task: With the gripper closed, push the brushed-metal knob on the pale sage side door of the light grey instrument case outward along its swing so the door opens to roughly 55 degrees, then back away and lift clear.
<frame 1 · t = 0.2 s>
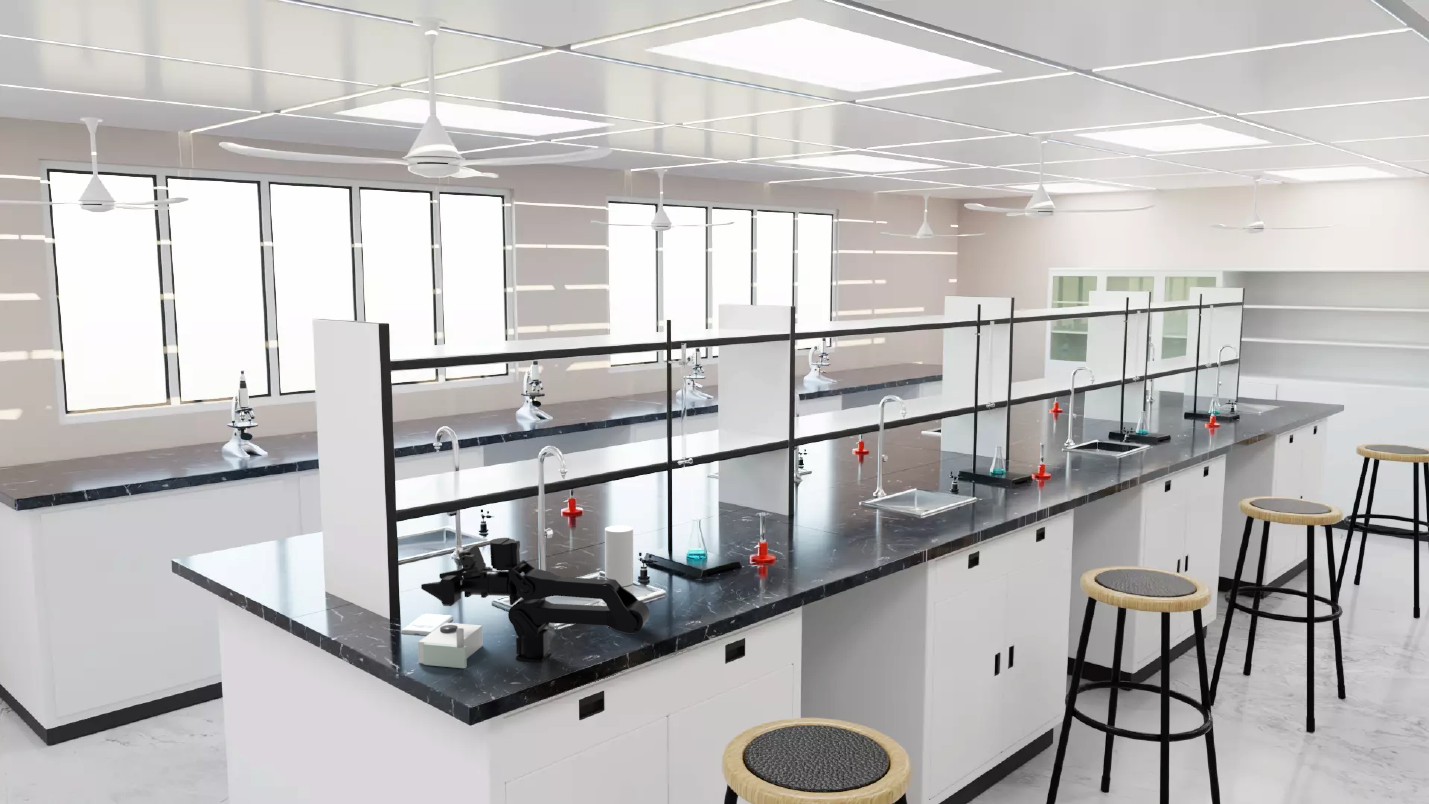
hand: (430, 581, 237), 16 cm above the worktop, tool horizontal, fingers open, 9 cm apart
side door: (444, 646, 227), point 5 cm above the worktop, hinge at 0.0°
instrument case: (451, 654, 236), on the worktop
external hard drive: (427, 628, 255), on the worktop
cylindrical container: (619, 625, 257), on the worktop
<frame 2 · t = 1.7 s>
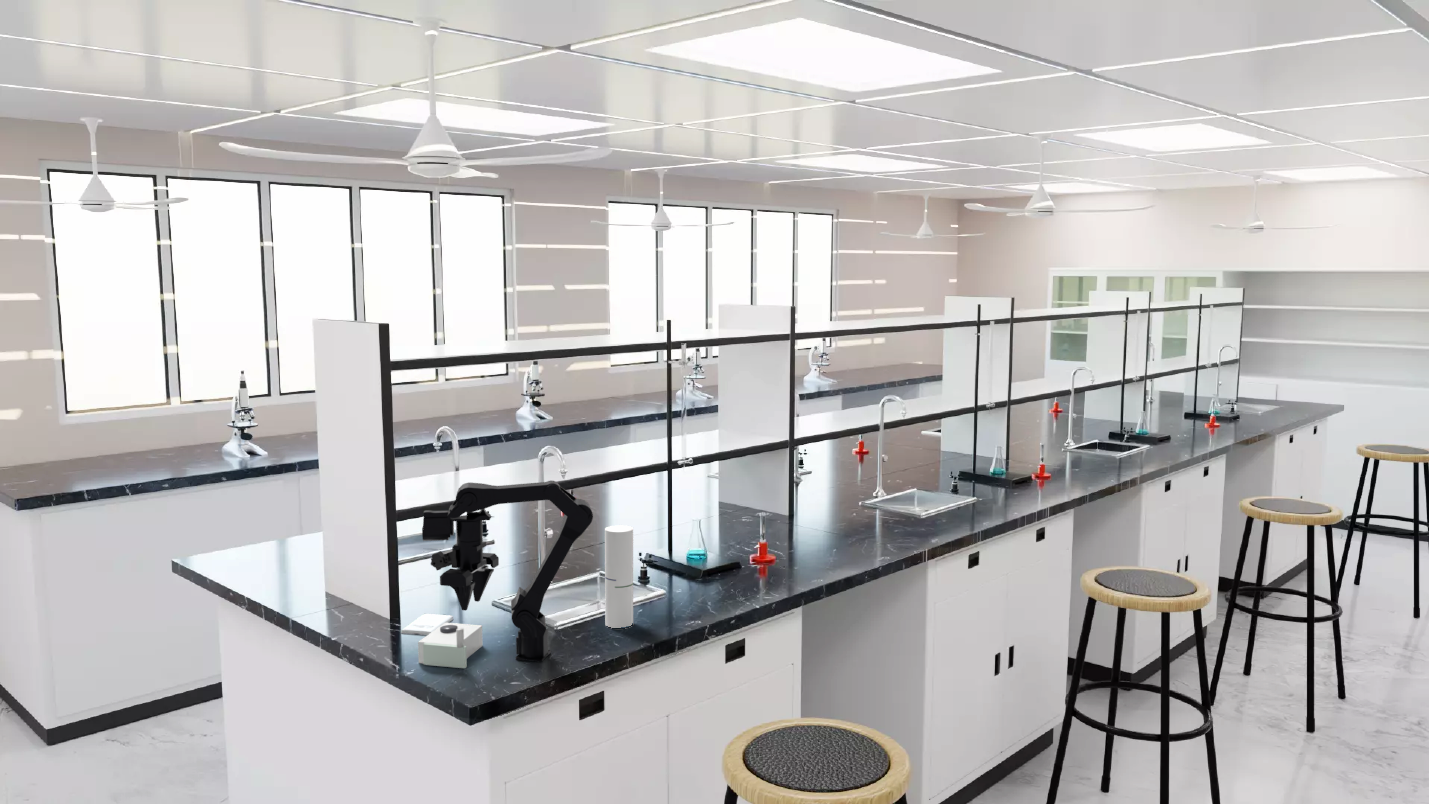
hand: (470, 605, 230), 13 cm above the worktop, tool pointing down, fingers open, 6 cm apart
nothing on the worktop moved.
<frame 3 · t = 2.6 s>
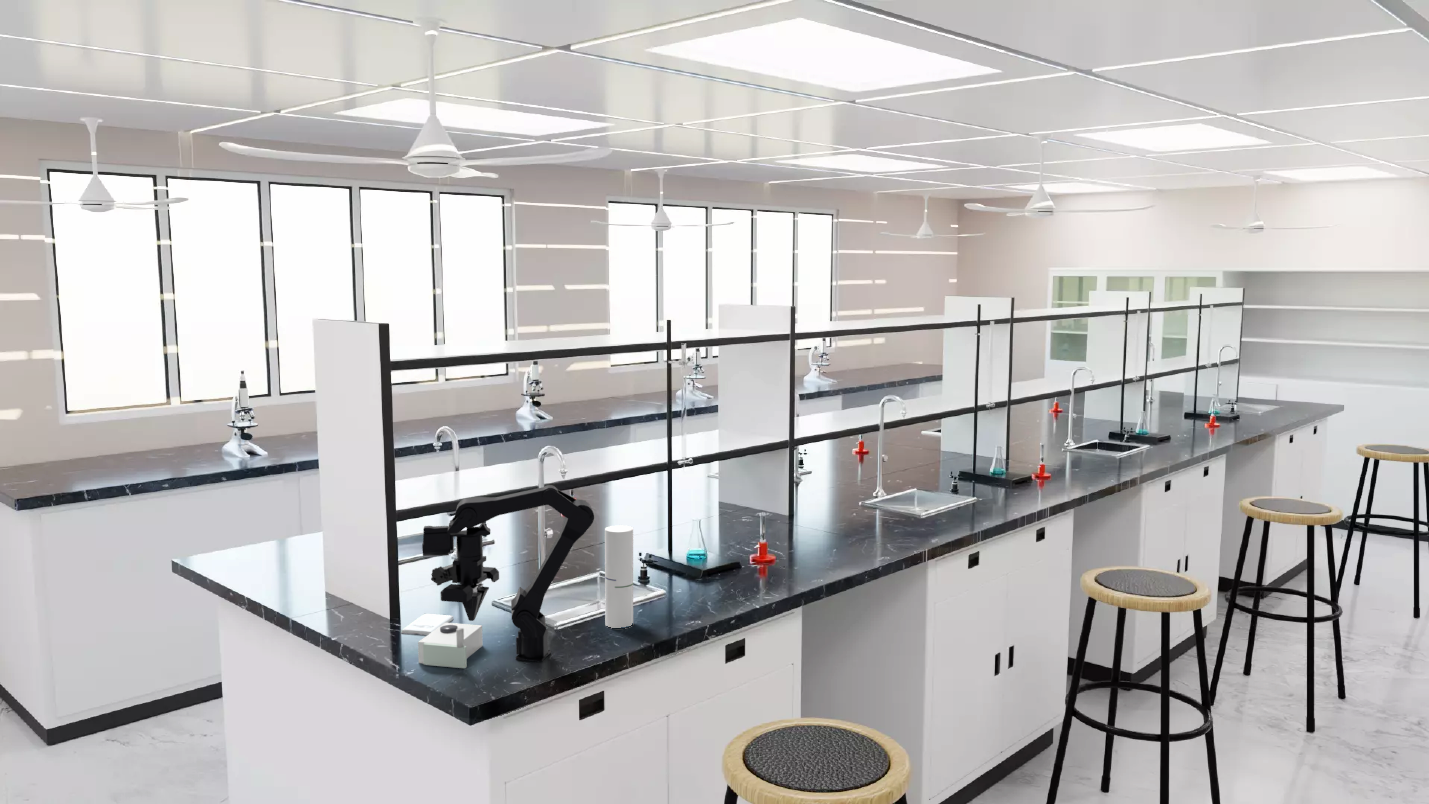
hand: (471, 620, 231), 10 cm above the worktop, tool pointing down, fingers closed
nothing on the worktop moved.
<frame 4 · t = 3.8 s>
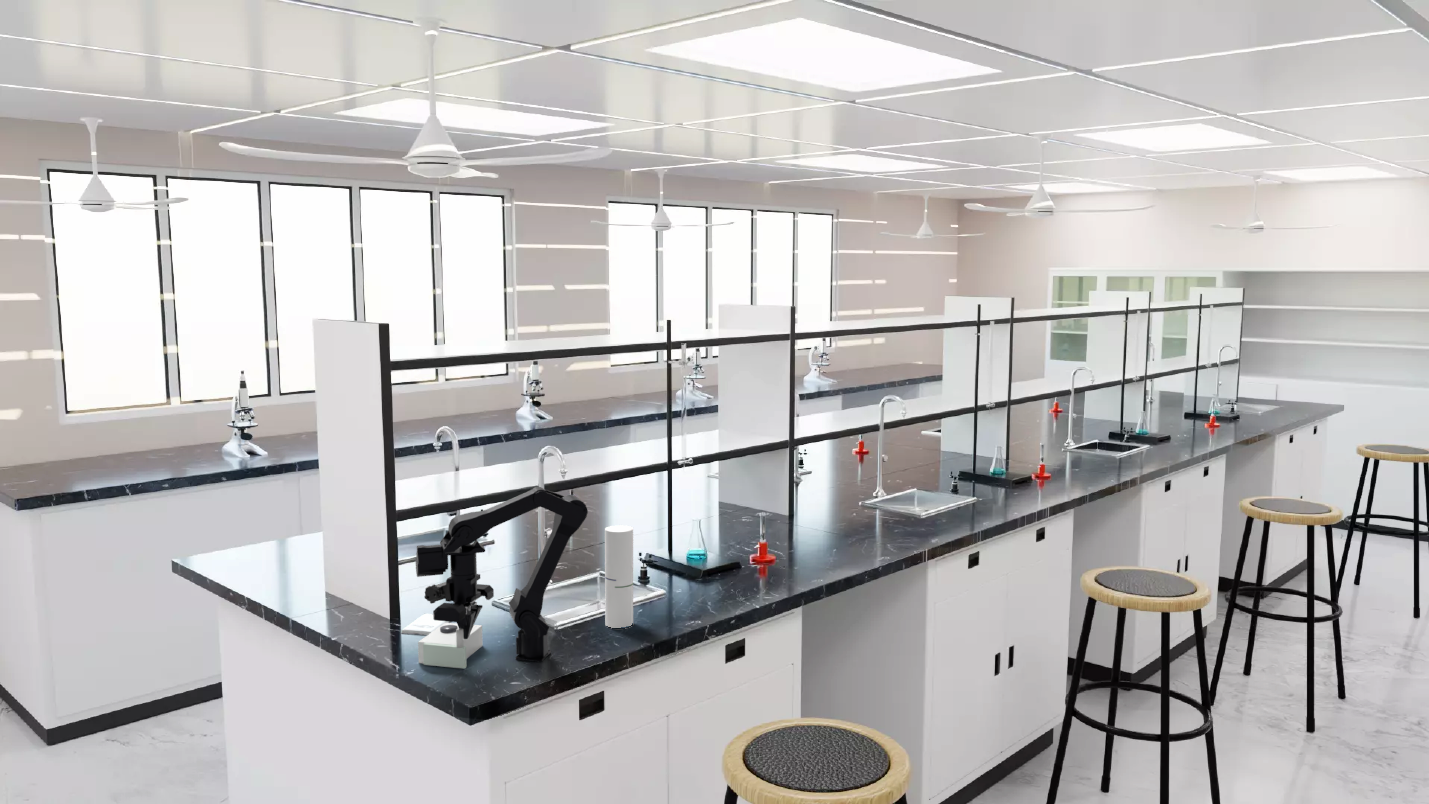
hand: (465, 638, 228), 6 cm above the worktop, tool pointing down, fingers closed
side door: (444, 647, 227), point 5 cm above the worktop, hinge at 0.8°, touching gripper
everything else where it was.
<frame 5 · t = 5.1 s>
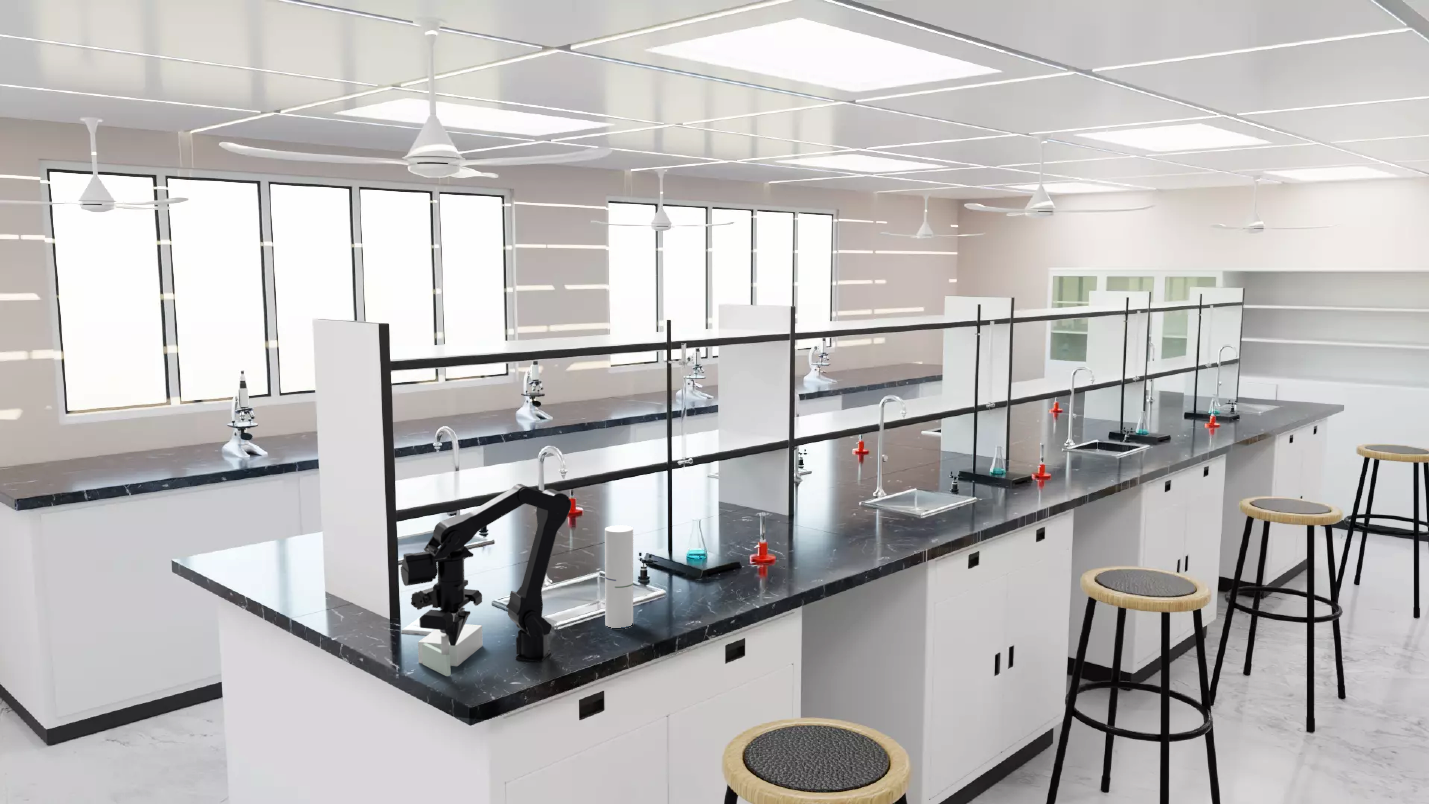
hand: (452, 645, 224), 6 cm above the worktop, tool pointing down, fingers closed
side door: (436, 650, 225), point 5 cm above the worktop, hinge at 32.3°, touching gripper
everything else where it was.
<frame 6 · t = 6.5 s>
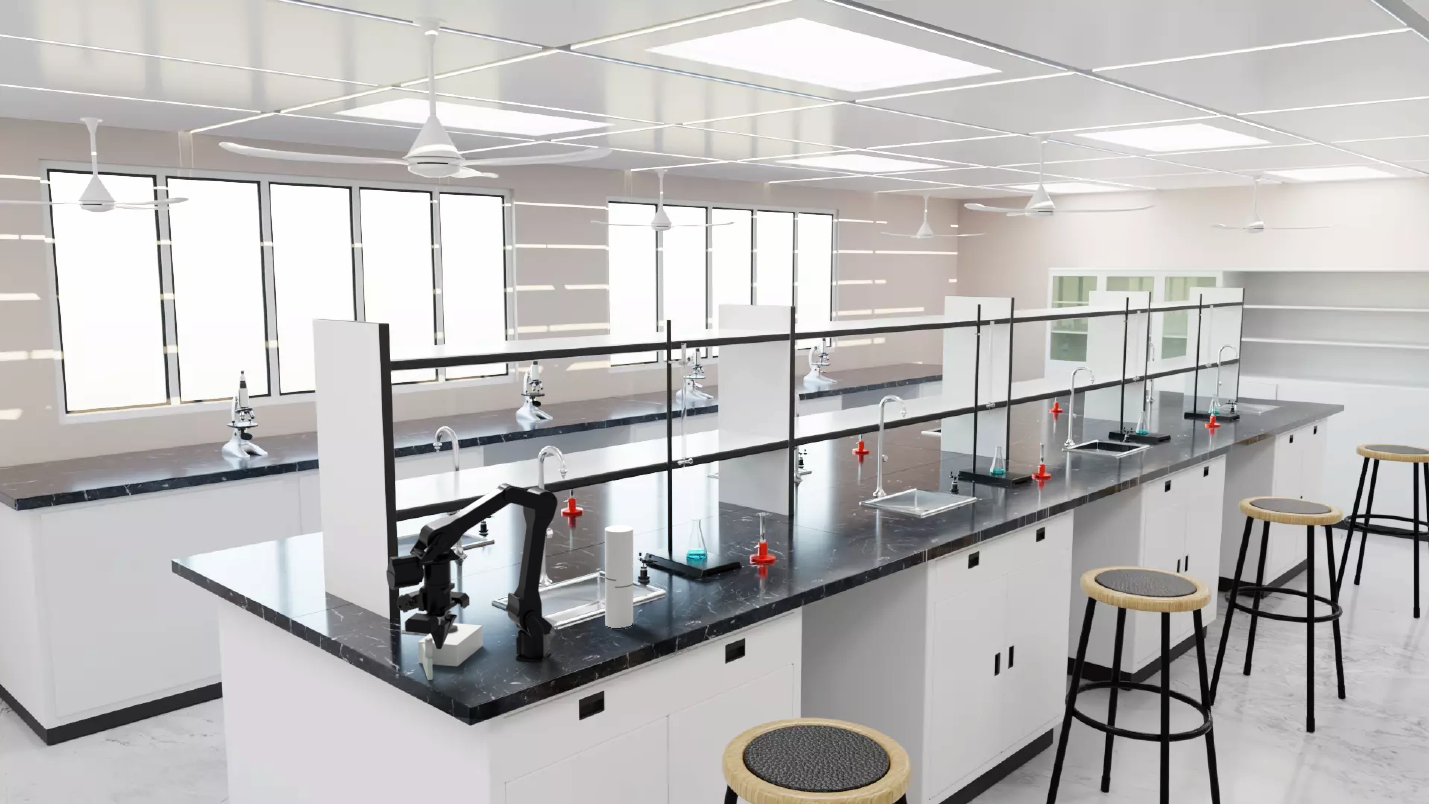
hand: (439, 648, 222), 6 cm above the worktop, tool pointing down, fingers closed
side door: (427, 652, 223), point 5 cm above the worktop, hinge at 55.9°, touching gripper
everything else where it was.
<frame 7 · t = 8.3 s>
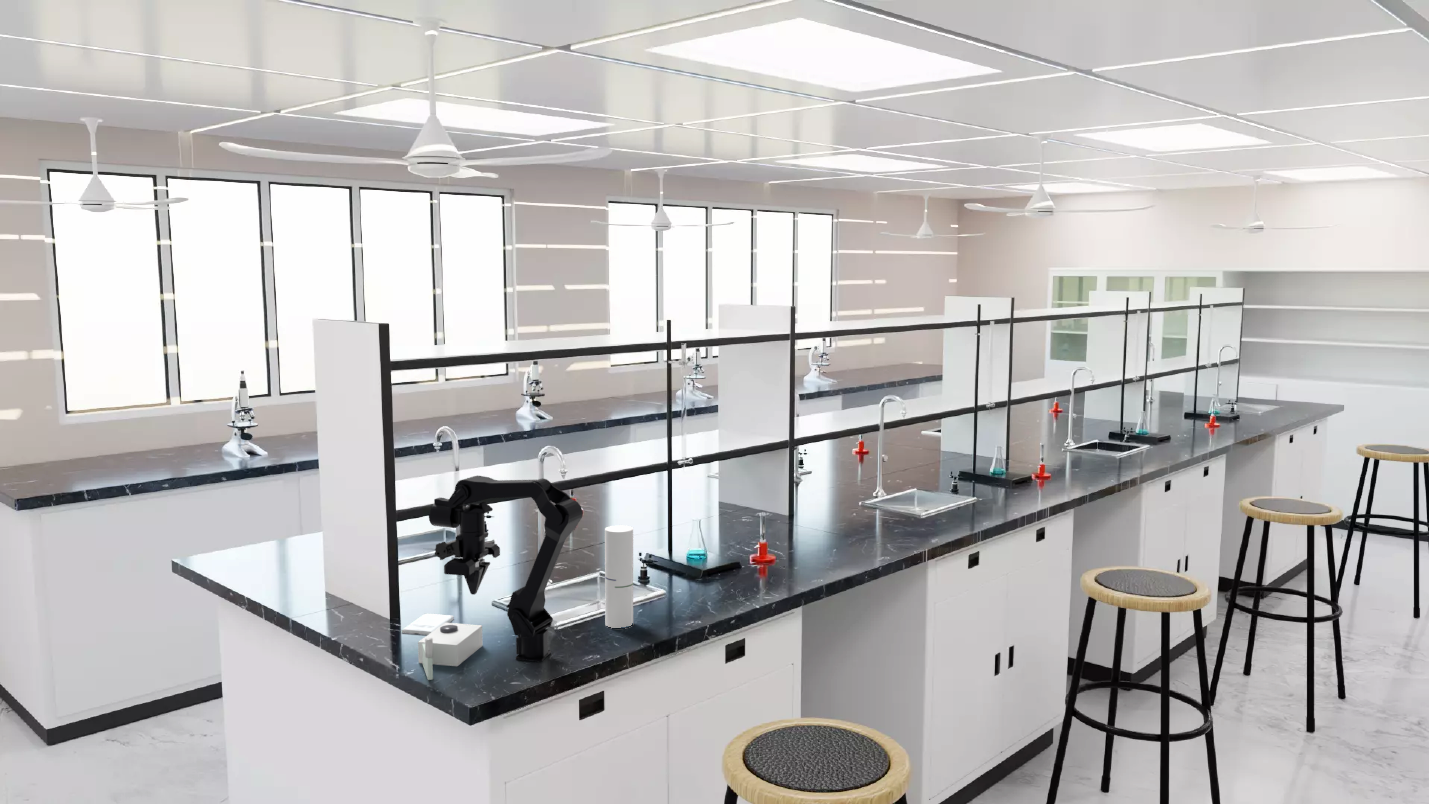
hand: (473, 594, 239), 13 cm above the worktop, tool pointing down, fingers closed
side door: (427, 652, 223), point 5 cm above the worktop, hinge at 55.7°
everything else where it was.
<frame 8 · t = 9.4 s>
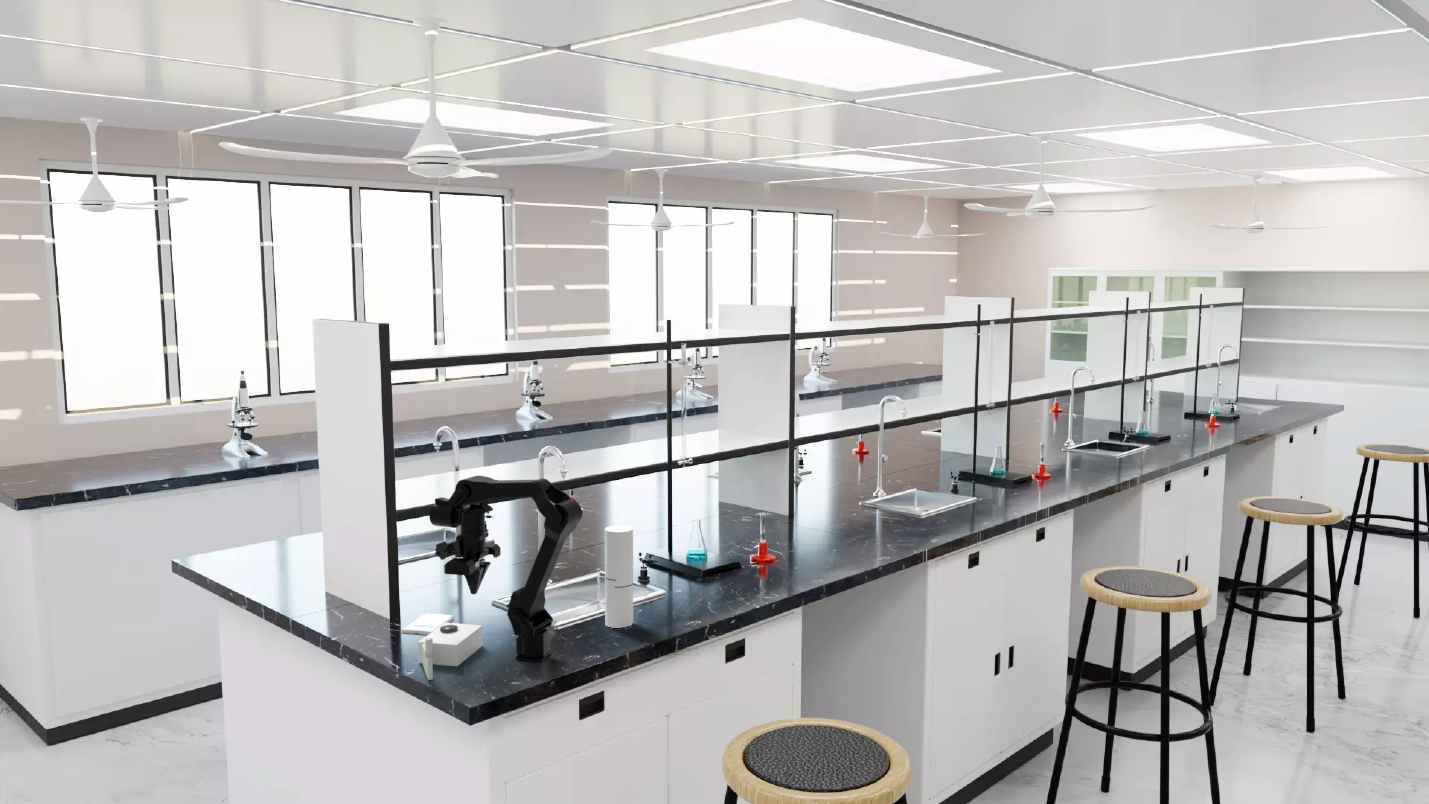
hand: (474, 593, 239), 13 cm above the worktop, tool pointing down, fingers closed
nothing on the worktop moved.
at the end: side door at +56° (first picture: +0°) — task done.
